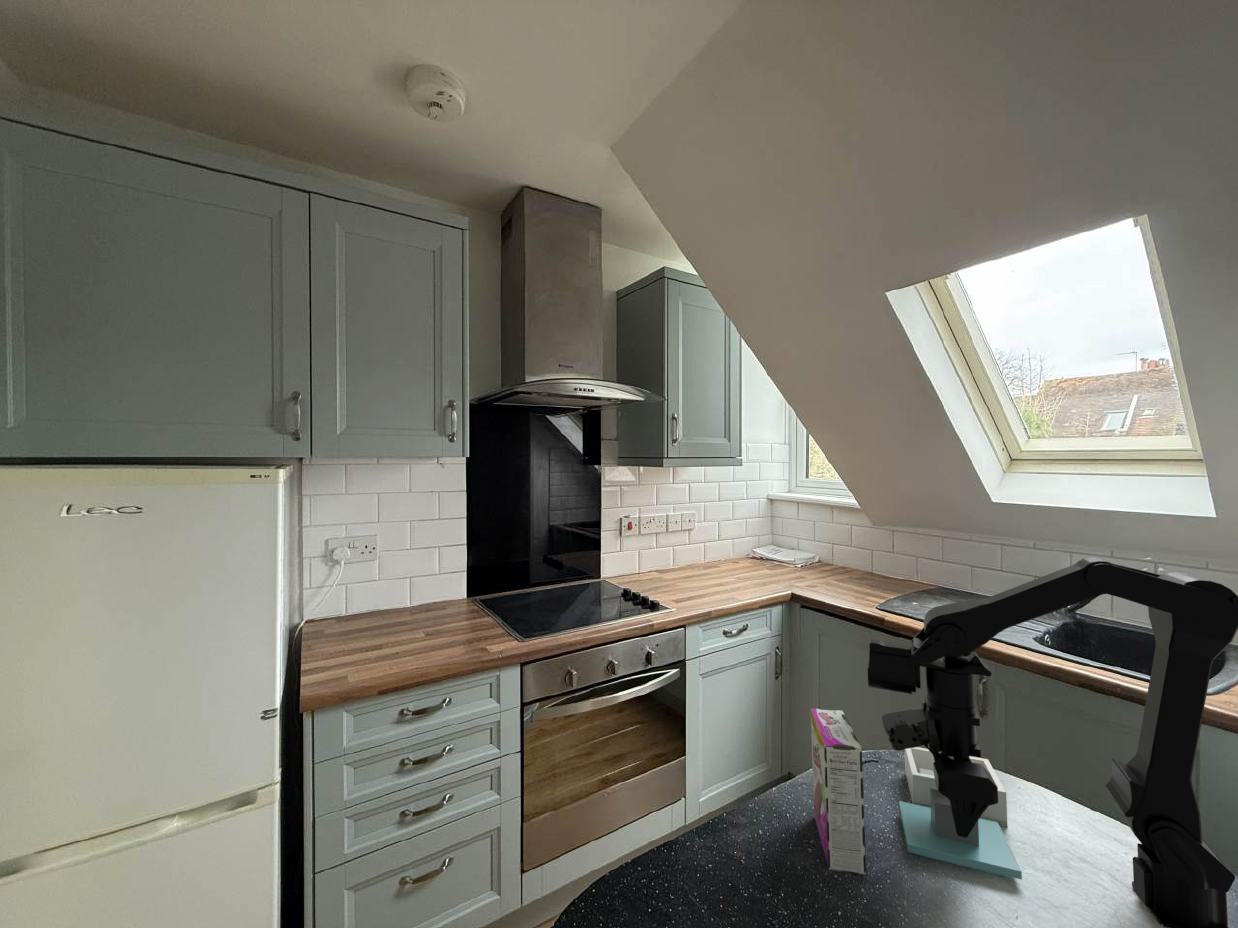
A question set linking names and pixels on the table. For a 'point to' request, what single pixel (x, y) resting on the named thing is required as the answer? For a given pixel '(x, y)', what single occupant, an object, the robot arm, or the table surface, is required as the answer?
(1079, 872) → the table surface
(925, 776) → the storage box
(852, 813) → the candy bar box
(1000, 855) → the lid
